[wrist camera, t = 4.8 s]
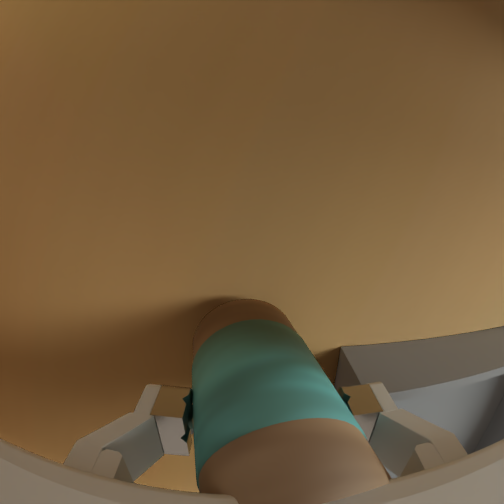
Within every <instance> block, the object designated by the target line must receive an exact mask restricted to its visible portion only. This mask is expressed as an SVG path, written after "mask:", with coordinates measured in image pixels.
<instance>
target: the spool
mask: <svg viewBox="0 0 504 504" xmlns="http://www.w3.org/2000/svg"><path fill="white" fill-rule="evenodd" d="M192 390H193V395H192V402H193V429H194V449H195V465H196V480H197V486H198V489H199V491H200V493H209V494H226V495H230V496H233V497H234V498H235V499H236V500H237V502H238V504H324V503H328V502H332V501H336V500H339V499H343V498H346V497H350V496H353V495H357V494H360V493H363V492H366V491H369V490H372V489H375V488H378V487H381V486H383V485H386V484H389V480H390V479H392V478H391V476H390V475H389V473H388V472H387V470H386V469H385V467H384V466H383V464H382V463H381V461H380V460H379V458H378V457H377V455H376V453H375V452H374V450H373V449H372V447H371V446H370V444H369V443H368V441H367V438H366V436H365V433H364V432H363V430H362V429H361V427H360V426H359V424H358V423H357V421H356V419H355V418H354V416H353V415H352V413H351V412H350V410H349V409H348V407H347V406H346V404H345V403H344V401H343V400H342V398H341V397H340V395H339V394H338V392H337V391H336V389H335V388H334V386H333V385H332V383H331V382H330V380H329V379H328V377H327V376H326V374H325V373H324V371H323V370H322V368H321V367H320V365H319V363H318V362H317V360H316V359H315V357H314V356H313V354H312V353H311V351H310V350H309V348H308V347H307V345H306V344H305V342H304V341H303V339H302V338H301V337H300V336H299V335H298V334H297V332H296V331H295V329H294V328H293V326H292V325H291V323H290V322H289V320H288V319H287V317H286V316H285V315H284V314H283V313H282V312H281V311H280V310H279V309H278V308H276V307H275V306H273V305H271V304H269V303H267V302H264V301H260V300H254V299H241V300H235V301H231V302H228V303H225V304H222V305H220V306H219V307H217V308H215V309H214V310H212V311H211V312H210V313H208V314H207V315H206V316H205V317H204V319H203V320H202V321H201V322H200V324H199V325H198V327H197V329H196V332H195V335H194V338H193V365H192Z"/></svg>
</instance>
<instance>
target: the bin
mask: <svg viewBox="0 0 504 504" xmlns="http://www.w3.org/2000/svg"><path fill="white" fill-rule="evenodd" d="M374 382H382V383H383V385H384V386H385V388H386V390H387V391H388V393H389V395H390V396H391V398H392V400H393V401H394V403H395V405H396V406H397V408H398V409H404V410H406V411H408V412H410V413H412V414H414V415H416V416H418V417H420V418H422V419H424V420H426V421H428V422H430V423H432V424H434V425H436V426H438V427H441V428H443V429H445V430H447V431H449V432H451V433H453V434H454V435H455V436H456V438H457V439H458V441H459V442H460V443H461V445H462V446H463V448H464V449H465V451H466V452H467V454H471V453H473V452H476V451H478V450H480V449H483V448H485V447H487V446H490V445H492V444H494V443H496V442H498V441H500V440H502V439H504V326H502V327H497V328H492V329H487V330H481V331H476V332H470V333H464V334H458V335H451V336H444V337H437V338H429V339H422V340H413V341H404V342H395V343H384V344H373V345H360V346H345V347H341V349H340V355H339V361H338V367H337V373H336V378H335V384H334V388H335V389H336V391H338V389H339V387H343V386H353V385H362V384H367V383H374ZM383 466H384V465H383ZM384 467H385V466H384ZM385 469H386V470H387V472H388V473H389V475H390V476H391V478H392V479H393V478H397V477H398V476H397V475H395V474H394V473H393V472H391V471H390V470H389V469H388V468H386V467H385Z"/></svg>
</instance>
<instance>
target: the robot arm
mask: <svg viewBox="0 0 504 504" xmlns="http://www.w3.org/2000/svg"><path fill="white" fill-rule="evenodd" d="M337 392H338V394H339V395H340V397H341V398H342V400H343V401H344V403H345V404H346V406H347V407H348V409H349V410H350V412H351V413H352V415H353V416H354V418H355V419H356V421H357V423H358V424H359V426H360V427H361V429H362V430H363V432H364V433H365V436H366V438H367V441H368V443H369V444H370V446H371V447H372V449H373V450H374V452H375V453H376V455H377V457H378V458H379V460H380V461H381V463H382V464H383V465H384V466H385V467H386V468H388V469H389V470H390V471H391V472H393V473H394V474H395V475H397V476H398V477H397V478H393V479H390V480H389V484H386V485H383V486H381V487H378V488H375V489H372V490H369V491H366V492H363V493H360V494H357V495H353V496H350V497H346V498H343V499H339V500H336V501H332V502H328V503H324V504H504V439H502V440H500V441H498V442H496V443H494V444H492V445H490V446H487V447H485V448H483V449H480V450H478V451H476V452H473V453H471V454H467V452H466V451H465V449H464V448H463V446H462V445H461V443H460V442H459V441H458V439H457V438H456V436H455V435H454V434H453V433H451V432H449V431H447V430H445V429H443V428H441V427H438V426H436V425H434V424H432V423H430V422H428V421H426V420H424V419H422V418H420V417H418V416H416V415H414V414H412V413H410V412H408V411H406V410H404V409H398V408H397V406H396V405H395V403H394V401H393V400H392V398H391V396H390V395H389V393H388V391H387V390H386V388H385V386H384V385H383V383H382V382H374V383H367V384H362V385H353V386H343V387H339V389H338V391H337ZM192 395H193V390H192V388H186V387H176V386H167V385H157V384H148V385H146V387H145V389H144V391H143V393H142V395H141V397H140V400H139V402H138V404H137V406H136V408H135V410H134V412H133V413H131V412H129V413H127V414H125V415H124V416H122V417H120V418H118V419H116V420H115V421H113V422H111V423H109V424H107V425H105V426H104V427H102V428H100V429H98V430H96V431H94V432H92V433H90V434H88V435H86V436H85V437H83V438H81V439H79V440H77V441H76V443H75V444H74V446H73V448H72V450H71V451H70V453H69V455H68V456H67V458H66V460H65V462H64V463H63V464H61V463H58V462H55V461H53V460H50V459H47V458H45V457H42V456H39V455H37V454H34V453H32V452H30V451H27V450H25V449H22V448H20V447H18V446H16V445H13V444H11V443H9V442H7V441H5V440H3V439H1V438H0V504H238V502H237V500H236V499H235V498H234V497H233V496H230V495H226V494H209V493H197V492H187V491H179V490H171V489H164V488H157V487H151V486H146V485H140V484H135V483H134V482H133V481H134V480H136V479H137V478H138V477H139V476H140V475H142V474H143V473H144V472H145V471H146V470H147V469H148V468H150V467H151V466H152V465H153V464H154V463H155V462H156V461H158V460H159V459H160V458H161V457H162V456H163V455H164V454H173V455H185V456H189V454H190V450H191V445H192V438H191V434H193V433H194V429H193V405H192Z"/></svg>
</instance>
